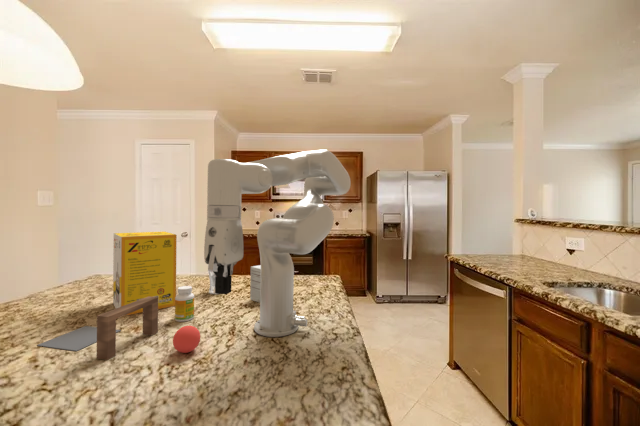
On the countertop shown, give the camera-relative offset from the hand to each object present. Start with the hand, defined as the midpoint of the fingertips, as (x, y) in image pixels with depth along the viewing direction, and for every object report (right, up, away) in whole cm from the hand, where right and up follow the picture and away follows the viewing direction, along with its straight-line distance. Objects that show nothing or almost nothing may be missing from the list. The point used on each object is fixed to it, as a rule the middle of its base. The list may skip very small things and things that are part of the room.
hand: (223, 292), depth 67 cm
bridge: (-25, -14, +5) cm, 29 cm away
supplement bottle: (-20, -15, +23) cm, 33 cm away
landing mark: (-40, -14, +9) cm, 43 cm away
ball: (-9, -12, +2) cm, 15 cm away
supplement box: (+1, -15, +43) cm, 45 cm away
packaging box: (-39, -14, +35) cm, 55 cm away
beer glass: (-20, -14, +51) cm, 57 cm away
